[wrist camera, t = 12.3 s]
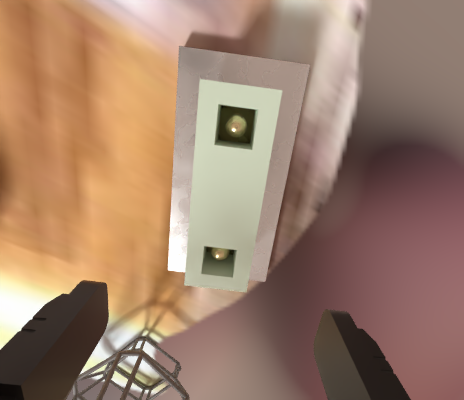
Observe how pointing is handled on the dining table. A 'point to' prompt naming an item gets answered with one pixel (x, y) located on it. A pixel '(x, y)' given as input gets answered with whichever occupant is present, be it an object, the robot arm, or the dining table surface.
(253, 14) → the dining table surface
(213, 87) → the bar
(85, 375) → the geometric lantern
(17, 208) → the dining table surface
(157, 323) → the dining table surface
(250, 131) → the board with brass pegs
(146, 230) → the dining table surface
